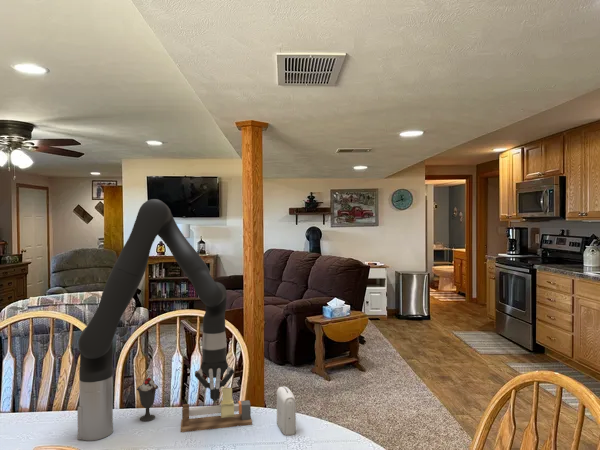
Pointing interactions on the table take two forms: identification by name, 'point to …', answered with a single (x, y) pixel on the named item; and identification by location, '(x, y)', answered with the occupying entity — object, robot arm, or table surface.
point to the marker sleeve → (227, 403)
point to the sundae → (147, 397)
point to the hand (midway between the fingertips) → (214, 399)
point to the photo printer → (286, 411)
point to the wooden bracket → (209, 421)
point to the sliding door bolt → (242, 407)
